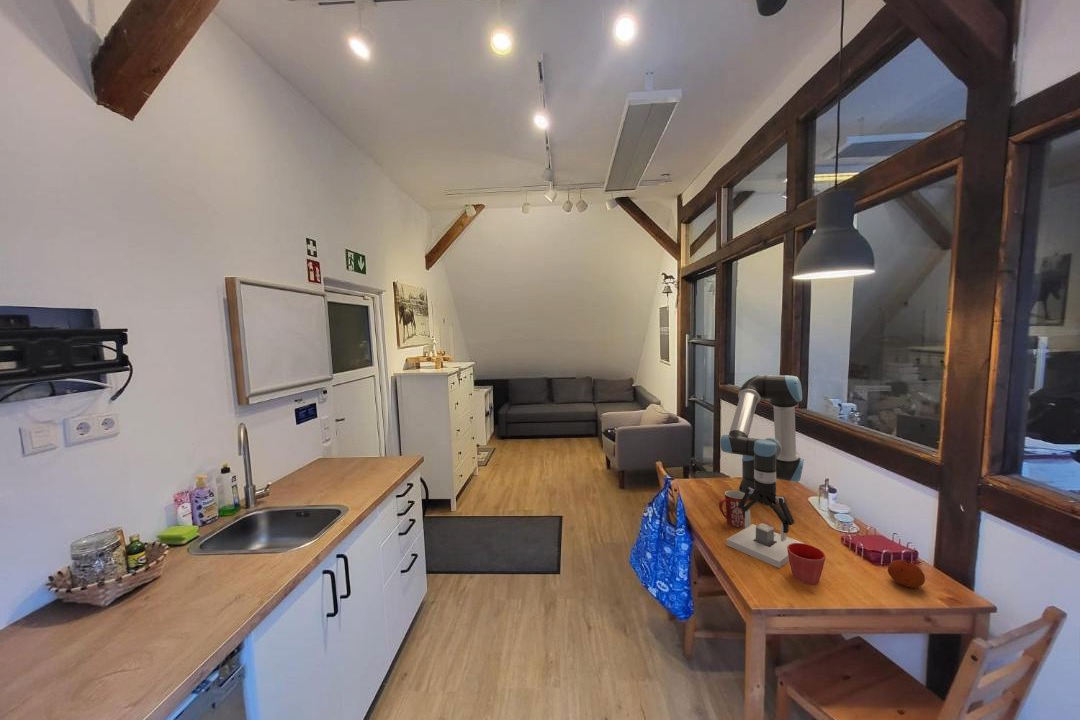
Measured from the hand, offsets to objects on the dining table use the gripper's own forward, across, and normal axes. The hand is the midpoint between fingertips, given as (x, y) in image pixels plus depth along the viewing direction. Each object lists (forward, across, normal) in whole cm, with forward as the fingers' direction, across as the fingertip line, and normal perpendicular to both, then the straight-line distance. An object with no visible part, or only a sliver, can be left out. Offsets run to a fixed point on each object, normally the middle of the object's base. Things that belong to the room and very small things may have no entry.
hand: (764, 533), depth 157 cm
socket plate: (+6, 0, 0) cm, 6 cm away
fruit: (+6, +39, +13) cm, 42 cm away
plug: (+5, 0, 0) cm, 5 cm away
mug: (+6, -18, +8) cm, 21 cm away
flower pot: (+6, +18, -9) cm, 21 cm away
